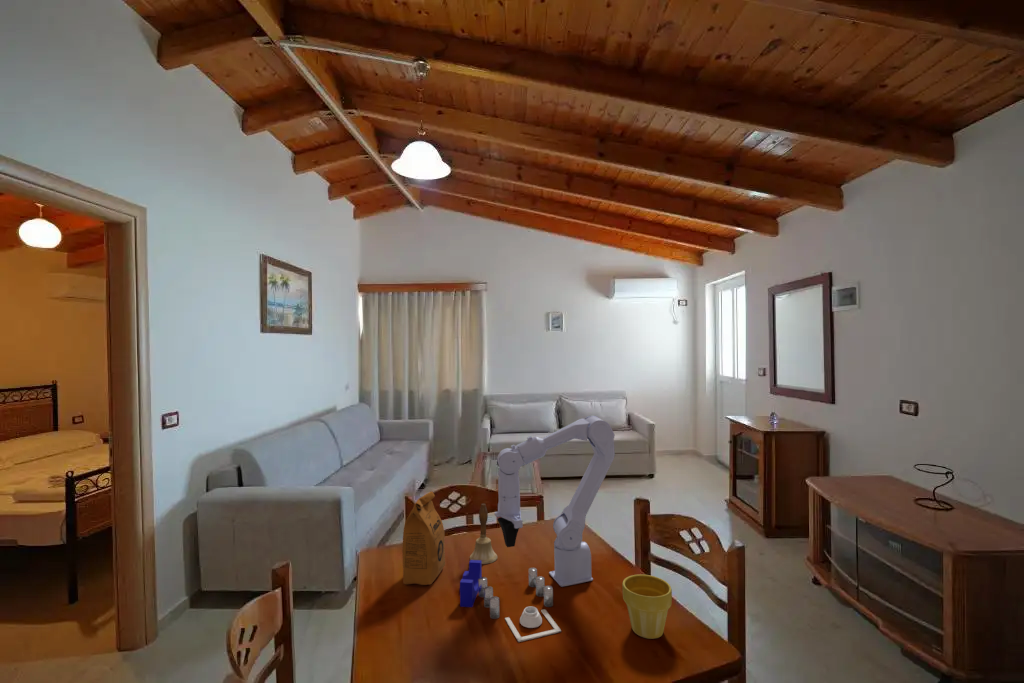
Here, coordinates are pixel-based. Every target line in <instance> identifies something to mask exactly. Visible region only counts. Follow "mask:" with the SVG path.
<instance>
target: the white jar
mask: <svg viewBox="0 0 1024 683" xmlns="http://www.w3.org/2000/svg"><path fill="white" fill-rule="evenodd" d="M542 623H543V618H542V616H541V614H540V612H539V610H538V608H537V607H535V606H533V605H532V606H526V607H525V608H524V609H523V611H522V613H521V616H520V617H519V624H521V626H523V627H525V628H528V629H533V628H534V629H535V628H538V627H539V626H541V625H542Z"/></svg>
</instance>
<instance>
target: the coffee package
mask: <svg viewBox="0 0 1024 683" xmlns="http://www.w3.org/2000/svg"><path fill="white" fill-rule="evenodd" d="M435 497H436V496H435V493H434V492H433V491H432V490H431V491H430V492H427V493H426V494H423V495H422V496H421V497H419V498H418V499H417V500H416V502H415V503H414V505H413V507H412V509H411V510H410V512H409V515H408V516H407V517H406V520H405V522H404V525H403V532H402V534H403V535H402V547H401V548H402V550H401V552H402V570H403V571H402V574H403V576H402V577H403V581H402V582H403V583H402V584H403V585H413V584H417V585H419V586H420V585H421V586H427V585H432V584H433V582H434V581H435V580H436V579H437V577H438V576H439V575H440V574H441V572H442V570H443V569H444V567H445V566H446V555H445V554H446V552H445V551H446V550H445V528H444V523H443V521H442V519H441V516H440V515H439V513H438V512H437V510H436V509H435V506H434V503H433V499H435Z"/></svg>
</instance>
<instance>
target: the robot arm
mask: <svg viewBox="0 0 1024 683" xmlns="http://www.w3.org/2000/svg"><path fill="white" fill-rule="evenodd" d="M615 437H616V435H615V433H614V431H613V429H612V426H611V424H610V423H609V422H608V421H606V420H603V419H602V418H600V417H599V416H597V415H592V414H591V415H588V416H586V417H584V418H579V419H577V420H575V421H573V422H571V423H569V424H567V425H565V426H564V427H562V428H560V429H558V430H556V431H554V432H552V433H550V434H548V435H546V436H544V437H539V436H536V435H535V436H533V437H532V436H528V437H526V439H527V440H524V441H522V442H520V443H517V444H516V445H515V444H512V445H510V447H511V448H510V447H507V448H503V449H501V450H500V451H499V453H498V455H497V458H496V461H497V464H498V471H497V473H498V478H497V482H498V483H497V484H498V487H497V488H498V490H497V491H498V503H497V511H494V516H495V518H496V517H497V522H498V524H499V525H500V528H501V532H502V537H503V540H504V544H505V546H506V548H511V547H515V545H516V541H517V536H518V532H519V530H520V529H522V528H523V526H524V525H523V523H524V522H523V519H522V510H521V493H520V492H521V491H520V490H521V486H520V484H521V483H520V482H521V481H520V480H521V479H520V475H519V470H520V469H521V467H523V466H526V465H529V464H530V463H533V462H534V461H535V462H536V460H539V459H541V458H543V457H545V456H546V453H547V451H548V450H549V449H553V448H555V447H558V446H560V445H562V444H565V443H567V442H570V441H572V440H575V439H576V440H581V441H585V442H587V441H589V444H590V446H591V449H592V452H593V455H592V457H591V459H590V461H589V464H588V466H587V468H586V470H585V471H584V473H583V476H582V478H581V479H580V482H579V483H578V485H577V488H576V489H575V492H574V494H573V496H572V497H571V500H570V502H569V504H568V505H567V506H566V507H564V508H563V509H562V512H561V513H560V514H558V515H557V516H556V517H555V519H554V520H553V523H552V527H553V532H555V534H556V537H555V540H554V541H553V548H554V549H553V553H554V555H553V556H554V570H552V571H549V572H548V574H549V576H551V577H552V578H553V580H554V581H555V582H556V583H557V584H558V585H559V586H560V587H562V588H563V587H568V586H573V585H578V584H583V583H586V582H587V583H588V582H592V581H593V580H594V578H593V577H592V553H591V549H590V547H589V546H590V545H588V543H587V542H586V541H583V532H584V530H585V528H586V518H587V514H588V513H589V510H590V508H591V506H592V504H593V502H594V500H595V498H596V497H597V494H598V492H599V490H600V488H601V486H602V483H603V481H605V480H604V479H605V478H606V476H607V473H608V471H609V469H610V467H611V466H612V464H613V461H614V459H615V456H616V453H615V442H614V441H615Z"/></svg>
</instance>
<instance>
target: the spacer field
mask: <svg viewBox="0 0 1024 683" xmlns="http://www.w3.org/2000/svg"><path fill="white" fill-rule="evenodd" d="M545 582H546V581H545V577H544V576H542V575H541V576H540V575H539V576H538V569H537V568H536V567H529V568H528V586H529V587H530V588H535V595H536V596H537V597H539V598H540V597H543V606H544V607H546V608H552V607H553V606H554V589H553V586H552V585H545ZM478 584H479V591H478V597H480V598H483V606H484V608H489V617H490V619H492V620H497V619H499V618H500V597H498V596H494V588H493V587H492V586H490V585H488V577H486V576H482V577H480V578H479V579H478Z"/></svg>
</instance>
